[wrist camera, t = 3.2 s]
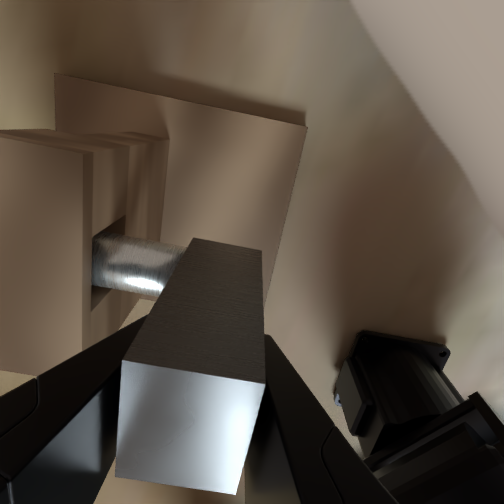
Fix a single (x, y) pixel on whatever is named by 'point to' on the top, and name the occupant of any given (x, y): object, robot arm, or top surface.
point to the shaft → (187, 359)
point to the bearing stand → (125, 204)
